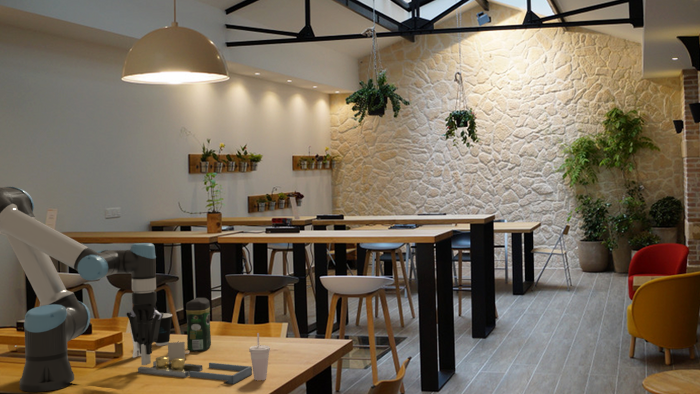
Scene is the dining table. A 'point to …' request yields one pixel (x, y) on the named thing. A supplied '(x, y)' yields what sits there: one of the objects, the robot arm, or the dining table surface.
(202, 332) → the coffee jar
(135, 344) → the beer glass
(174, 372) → the slot plate
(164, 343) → the dixie cup
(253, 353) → the smoothie
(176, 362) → the gold rounded cube
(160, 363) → the gold rounded block
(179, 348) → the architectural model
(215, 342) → the dining table surface
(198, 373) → the blue-grey rectangular frame
